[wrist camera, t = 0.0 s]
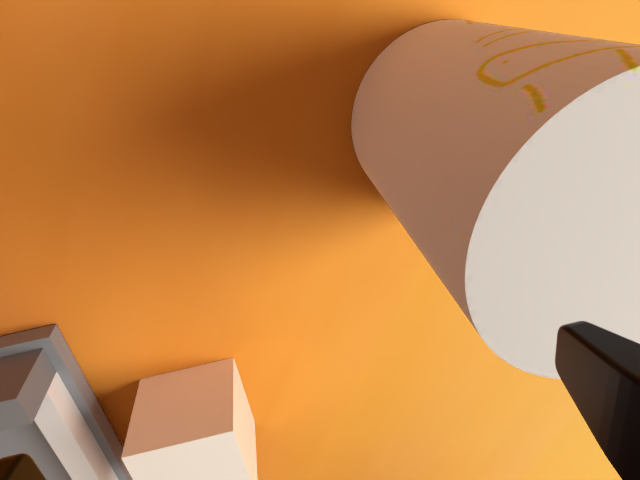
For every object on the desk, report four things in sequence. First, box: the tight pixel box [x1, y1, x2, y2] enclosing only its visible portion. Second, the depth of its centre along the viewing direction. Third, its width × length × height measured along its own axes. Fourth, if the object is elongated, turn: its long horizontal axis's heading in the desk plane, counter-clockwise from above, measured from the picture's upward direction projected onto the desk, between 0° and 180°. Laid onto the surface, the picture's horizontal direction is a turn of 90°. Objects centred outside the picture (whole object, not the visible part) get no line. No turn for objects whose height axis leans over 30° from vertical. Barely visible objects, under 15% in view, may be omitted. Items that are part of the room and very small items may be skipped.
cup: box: [351, 19, 640, 379], centre depth 16 cm, size 8×8×12 cm
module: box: [121, 358, 257, 480], centre depth 25 cm, size 5×5×5 cm
